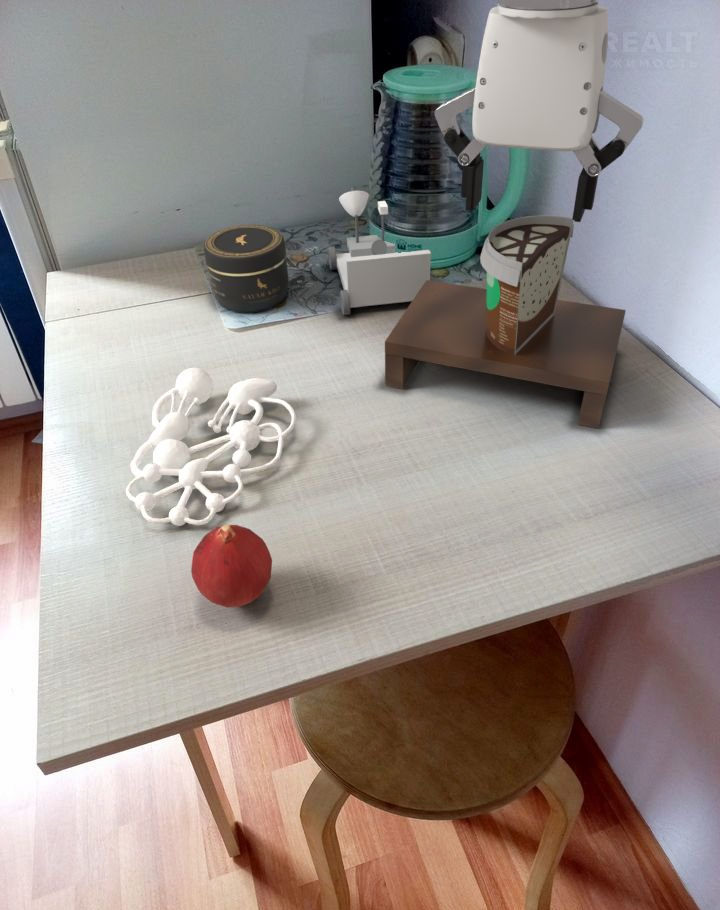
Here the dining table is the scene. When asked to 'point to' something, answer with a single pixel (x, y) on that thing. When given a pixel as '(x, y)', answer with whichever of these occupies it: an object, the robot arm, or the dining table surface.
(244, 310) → the jar
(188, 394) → the tangled rod sculpture
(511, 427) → the dining table surface
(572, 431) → the dining table surface
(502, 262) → the food container
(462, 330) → the shelf
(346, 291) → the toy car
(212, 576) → the onion
